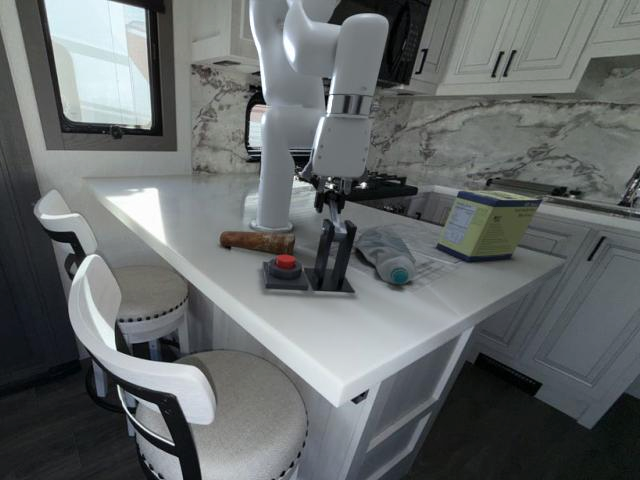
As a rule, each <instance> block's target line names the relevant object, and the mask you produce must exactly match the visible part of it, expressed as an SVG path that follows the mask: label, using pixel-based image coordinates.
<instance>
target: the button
mask: <svg viewBox="0 0 640 480" xmlns="http://www.w3.org/2000/svg"><path fill="white" fill-rule="evenodd" d="M276 258H277V261H276V266H277V267H279V268H283V269H292V268H294V265H295V260H296V257H294V256H293V255H280V254H278V255H277V256H276Z"/></svg>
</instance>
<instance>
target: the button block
mask: <svg viewBox="0 0 640 480" xmlns="http://www.w3.org/2000/svg"><path fill="white" fill-rule="evenodd" d="M276 261H277V257H276V258H272V259H271V260H269V261H262V264H261V265H262V266H261V268H262V274H263V282H264V289H267V290H268V289H269V290H286V291H287V290H288V291H289V290H290V291H309V286H310V284H309V282H308V281H307V280H308V279H307V277H306V276H305V275H306V274H305V272H304V270H303V265H302V264H301V262H299V261H297V260H296V259H295V265H294V268H292V269H283V268H279V267H277V266H276Z"/></svg>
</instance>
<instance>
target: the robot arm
mask: <svg viewBox="0 0 640 480" xmlns="http://www.w3.org/2000/svg"><path fill="white" fill-rule="evenodd" d="M341 1H342V0H249V6H248V7H249V8H248V11H249V13H248V14H249V24H250V31H251V35H252V38H253V42H254V44H255V48H256V51H257V55H258V61H259V71H260V80H261V89H262V96H263V99H264V102H265V103H266V104H267V105H268V106H269V108H268V109H266V110H265V111H264V113H263V114H262V117H261V119H260V137H261V138H260V139H261V140H260V141H261V162H260V175H259V189H258V197H257V198H258V200H257V213H256V218H254V219H253V220H252V221H251V224H250V225H251V228H253V229H255V230H267V231H292V230H293V224H292V223H291V222H290V221H289V216H290V209H291V202H292V195H293V194H292V193H293V188H294V187H293V186H294V179H295V171H296V164H295V160H294V158H293V156H292V154H291V152H290V149H311V152H310V156H309V161H308V162H307V164H306V165H305V167H304V168H303V170H302V171H301V173H300V176H301V177H302V178H304V179H305V180H306V181H308V182H309V183H310V184H311V185H312V187H313V188H314V190H315V196H314V202H313V208H314V209H315V211H316V212H317V214H322V213H323V210H324V205H325V203H324V200H325V187H326V183H327V180H328V177H329V178H330V177H331V178H340V188H339V190H338V191H337V193H338V195H339V199H338V201H337V203H336V208H337V212H338V215H341V214H342V210H344V209H345V205H346V201H347V197H348V195H350V193H351V192H352V191H353V190H354V189H355V188H356V187H358V186H359V185H361V184H364V183H366V182H368V181H369V179H370V176H369V172H368V168H367V162H368V156H369V151H370V150H369V149H370V145H371V144H370V143H371V134H372V119H369V118H370V116H371V114H372V113H373V112H374V113H377V112H378V111H379V108H380V103H379V102H376V101H375V97H374V95H375V92H376V91H375V90H376V87H377V81H378V77H379V73H380V69H381V64H382V60H383V57H384V53H385V47H386V44H387V38H388V34H389V30H390V29H389V27H390V26H389V20H388V19H387V18H386V17H385V16H383V15H381V14H378V13H358V14H353V15H351V16H349V17H347V18H346V19H345V20H344V21H343V22H342V24H341V25H338V24H333V23H328V22H329V21H330V20H331V18H332V16H333V15H334V14H333V13H334V11H335V9H336V8H337V7H338V5H339V4H340V3H341ZM279 25H283V27H282V28H283V30H282V29H281V27H280V26H279ZM323 78H326V79H327V78H328V79H331V80H330V87H329V92H328V99H327V105H326V100H325V90H324V81H323ZM312 173H313V174H314V175H316V176H317V177H315V176H314V175H312Z"/></svg>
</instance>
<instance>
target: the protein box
mask: <svg viewBox="0 0 640 480" xmlns="http://www.w3.org/2000/svg"><path fill="white" fill-rule="evenodd" d="M542 202H543V199H541V198H537V197H532V196H527V195H522V194H518V193H515V192H509V191H505V190H459V191H458V192H457V195H456V197H455V200H454V202H453V205H452V207H451V209H450V211H449V214H448V217H447V218H446V222H445V224H444V226H443V228H442V229H443V230H442V231H441V234H440V236H439V239H438V241H437V243H436V246H435V248H436V249H439V250H440V251H443V252H445V253H447V254H450V255H452V256H454V257H456V258H458V259H460V260H463V261H464V262H467V263H469V262H483V261H485V262H486V261H495V260H496V261H497V260H499V261H500V260H509V259H511V258H512V257H513V255H514V253H515V252H516V250H517V247H518V246H519V244H520V242H521V240H522V239H523V237H524V235H525V233H526V231H527V229H528V227H529V225H530V224H531V222H532V220H533V219H534V216H535V214H536V213H537V211H538V209H539V207H540V206H541V204H542Z"/></svg>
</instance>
